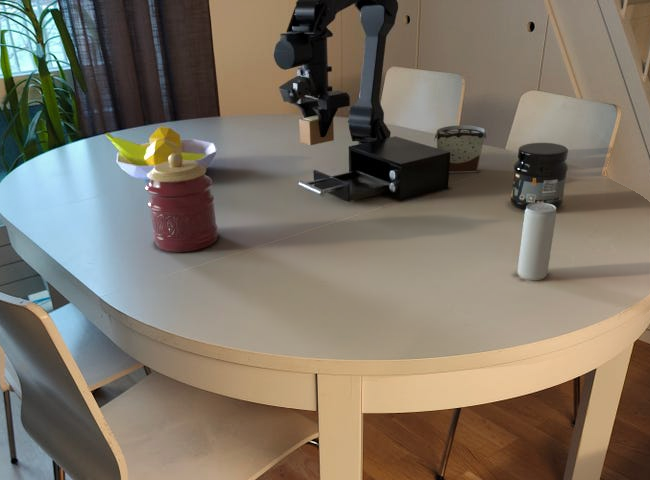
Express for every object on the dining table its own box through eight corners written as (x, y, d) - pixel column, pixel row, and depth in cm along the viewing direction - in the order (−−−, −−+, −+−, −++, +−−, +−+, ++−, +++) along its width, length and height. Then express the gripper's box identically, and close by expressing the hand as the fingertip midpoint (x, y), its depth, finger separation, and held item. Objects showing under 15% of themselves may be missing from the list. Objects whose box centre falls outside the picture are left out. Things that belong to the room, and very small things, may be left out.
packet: (300, 142, 158) (298, 118, 156) (323, 137, 161) (322, 113, 158) (310, 145, 155) (309, 121, 152) (334, 140, 158) (333, 116, 155)
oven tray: (293, 191, 159) (292, 174, 157) (357, 176, 166) (357, 159, 164) (326, 207, 148) (326, 189, 146) (393, 190, 156) (394, 172, 154)
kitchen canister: (191, 257, 132) (178, 166, 122) (141, 247, 138) (125, 159, 129) (231, 234, 141) (222, 148, 132) (182, 226, 147) (170, 142, 138)
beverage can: (512, 271, 118) (520, 203, 112) (540, 268, 118) (549, 201, 112) (523, 282, 114) (532, 213, 108) (551, 280, 114) (562, 210, 108)
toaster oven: (346, 181, 167) (345, 146, 163) (394, 170, 173) (395, 136, 169) (397, 202, 152) (398, 164, 148) (448, 188, 158) (450, 152, 154)
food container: (480, 164, 173) (483, 123, 167) (483, 171, 167) (487, 129, 162) (430, 166, 174) (432, 125, 169) (432, 173, 169) (434, 131, 164)
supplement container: (525, 194, 151) (532, 139, 145) (571, 203, 145) (580, 146, 139) (500, 207, 145) (506, 150, 139) (546, 217, 139) (555, 158, 132)
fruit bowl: (236, 163, 187) (232, 120, 181) (183, 193, 166) (177, 146, 161) (152, 157, 198) (145, 116, 192) (92, 185, 177) (83, 140, 171)
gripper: (261, 63, 153) (267, 134, 161) (306, 71, 139) (310, 149, 147) (303, 56, 158) (306, 126, 166) (351, 64, 144) (352, 140, 152)
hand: (317, 135), depth 158 cm, fingers closed on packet, 4 cm apart
